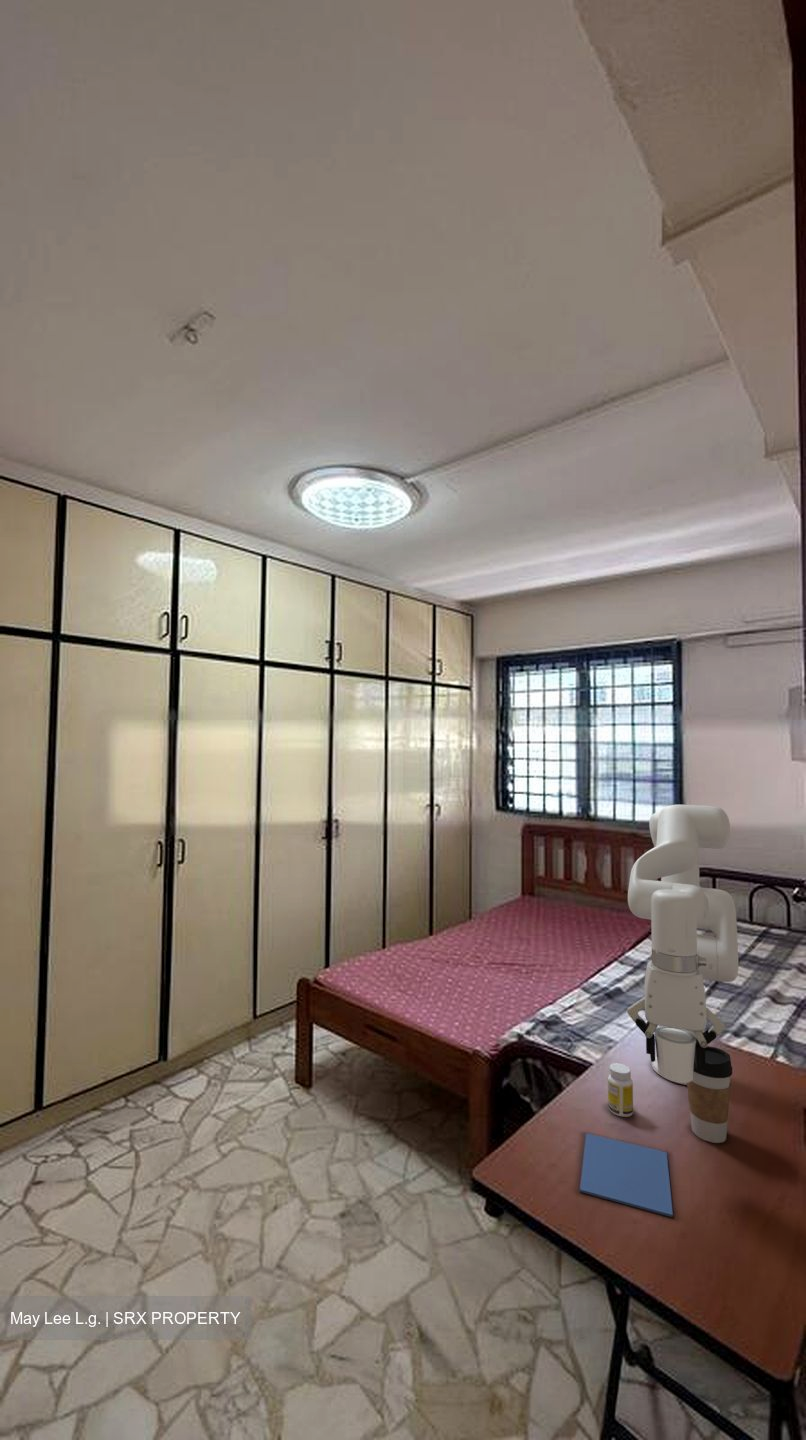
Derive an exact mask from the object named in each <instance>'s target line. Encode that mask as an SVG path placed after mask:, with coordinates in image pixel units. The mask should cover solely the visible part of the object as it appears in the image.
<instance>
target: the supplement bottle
mask: <svg viewBox="0 0 806 1440" xmlns="http://www.w3.org/2000/svg"><path fill="white" fill-rule="evenodd" d="M631 1077H632V1076H631V1068H630V1067H629V1066H628V1065H626V1064H623V1063H620V1062H619V1063H618V1062H617V1063H614V1062H613V1063H611V1064H610V1065H609V1074H608V1076H607V1097H608V1098H607V1100H608V1101H607V1105H608V1107H607V1108H608V1110H609V1111H610V1112H611V1113H612V1114H613V1115H616V1116H618V1117H622V1118H628V1117H631V1116H632V1115H633V1113H634V1087H633V1086H634V1084H633V1080H632V1078H631Z"/></svg>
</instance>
